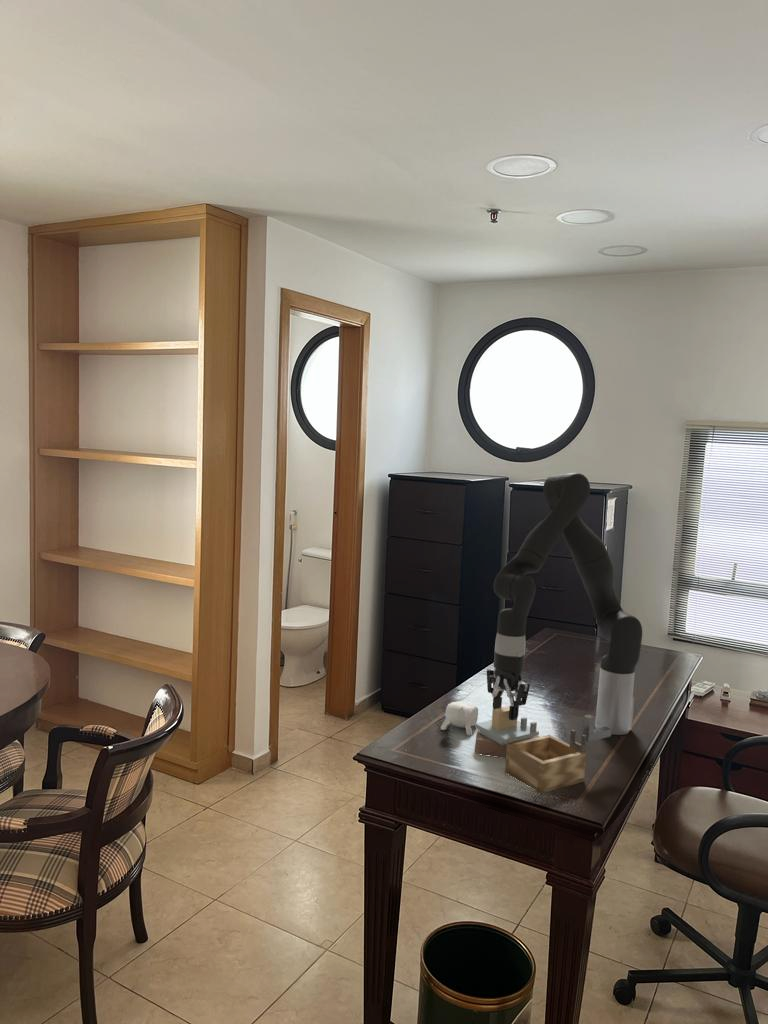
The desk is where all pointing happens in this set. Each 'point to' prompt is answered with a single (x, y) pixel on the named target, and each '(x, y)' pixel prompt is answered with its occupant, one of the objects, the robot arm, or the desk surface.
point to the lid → (506, 727)
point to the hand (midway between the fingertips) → (504, 715)
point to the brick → (491, 746)
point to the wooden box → (547, 762)
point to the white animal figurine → (461, 716)
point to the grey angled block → (594, 733)
